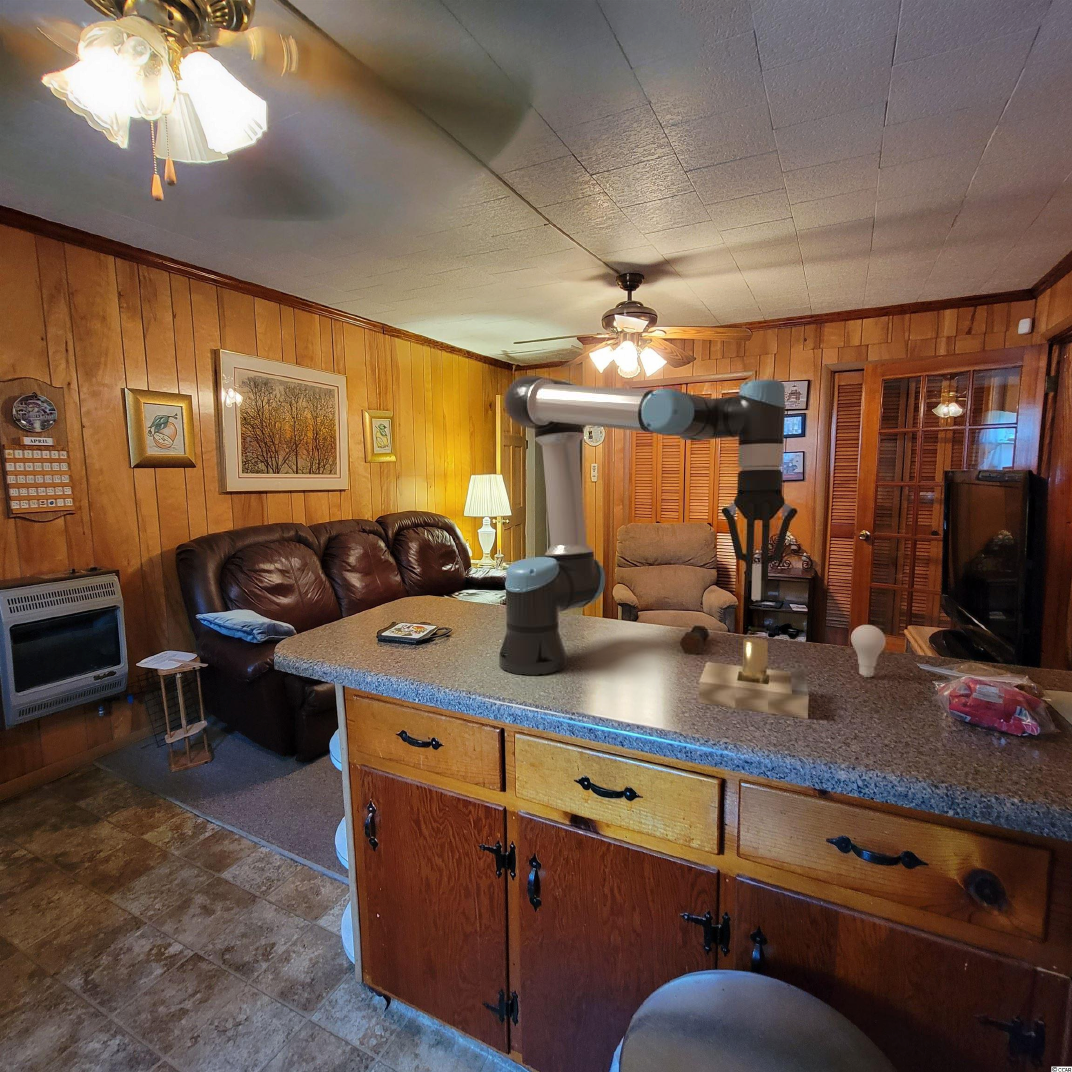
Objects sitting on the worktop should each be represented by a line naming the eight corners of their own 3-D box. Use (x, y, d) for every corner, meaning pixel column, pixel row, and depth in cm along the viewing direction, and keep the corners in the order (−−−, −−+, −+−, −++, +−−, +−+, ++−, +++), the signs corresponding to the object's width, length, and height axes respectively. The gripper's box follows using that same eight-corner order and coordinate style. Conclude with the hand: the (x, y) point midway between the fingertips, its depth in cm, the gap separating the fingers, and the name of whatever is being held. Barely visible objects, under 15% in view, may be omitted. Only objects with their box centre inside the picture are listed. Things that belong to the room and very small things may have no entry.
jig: (698, 702, 101) (699, 677, 101) (706, 681, 112) (707, 658, 112) (807, 718, 94) (808, 691, 93) (804, 694, 105) (805, 669, 104)
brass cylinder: (741, 700, 102) (743, 642, 101) (742, 693, 106) (743, 636, 105) (765, 704, 100) (767, 644, 99) (765, 696, 104) (767, 639, 103)
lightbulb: (854, 670, 118) (856, 620, 117) (887, 677, 114) (890, 625, 112) (845, 677, 114) (847, 625, 113) (878, 685, 109) (881, 630, 108)
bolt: (704, 645, 143) (694, 660, 129) (687, 634, 144) (675, 647, 131) (716, 627, 141) (707, 640, 128) (699, 616, 143) (688, 628, 129)
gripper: (799, 469, 100) (794, 597, 102) (723, 470, 105) (720, 592, 107) (800, 468, 93) (795, 605, 95) (719, 469, 98) (716, 599, 100)
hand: (756, 598), depth 101 cm, fingers closed
